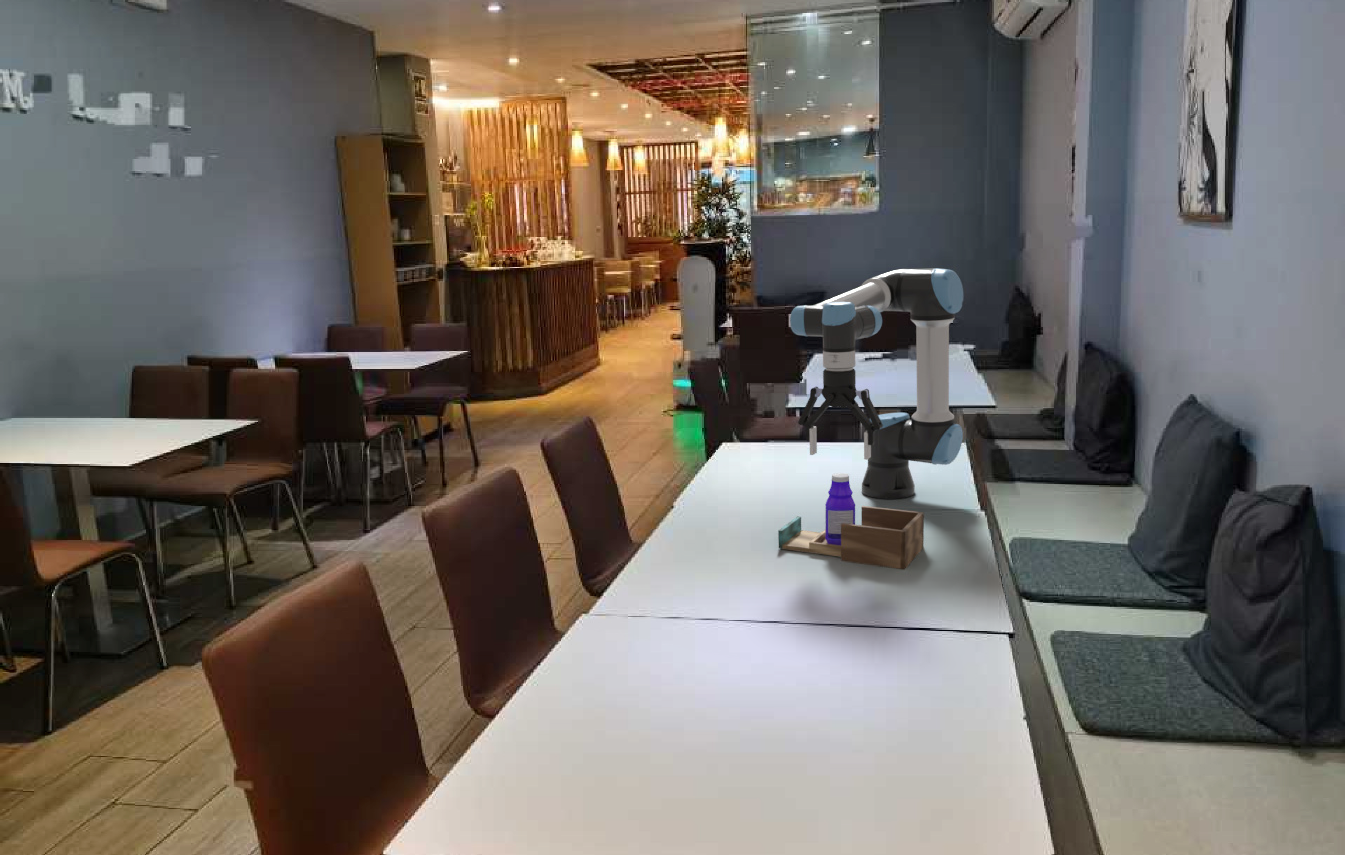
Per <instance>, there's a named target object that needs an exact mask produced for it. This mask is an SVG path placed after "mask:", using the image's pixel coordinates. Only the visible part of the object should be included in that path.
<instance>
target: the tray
mask: <svg viewBox="0 0 1345 855" xmlns="http://www.w3.org/2000/svg"><path fill="white" fill-rule="evenodd" d="M777 532H778V549H781V550H787V551H796V552H803V553H809V554H810V553H811V554H817V555H826V556H834V557H839V558H840V557H841V546H840V545H833V544H828V543H827V541H826V538H825V536H826V534H825V529H823V531H821V532H819V531H810V530H804V529H803V530H802V516H796V517H795V518H793V519H792V520H790V521H789V522H788V523H786V524H785V525H783V526H782V527H780V529H778V531H777Z"/></svg>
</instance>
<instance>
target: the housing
mask: <svg viewBox="0 0 1345 855" xmlns="http://www.w3.org/2000/svg"><path fill="white" fill-rule="evenodd" d="M924 515H925V514H924V512H922V511H913V510H905V509H904V510H903V509H896V508H887V507H886V508H885V507H877V506H868V505H867V506H866V505H862V506H861V524H855V525H854V524H846V523H842V524H841V558H840V561H841V562H848V563H853V564H854V563H855V564H861V565H863V564H864V565H869V566H877V567H885V568H892V569H897V570H899V569H900V570H906V569H907V568H908V566H909V565H910V564H911V563H912V561H914V559H915V558H916V557H918V555H919V554H920V553H921V551H922V550H923V549H924V541H925V540H924V538H925V537H924V536H925V535H924V533H925V532H924V531H925V530H924V529H925V528H924V527H925V526H924V522H925V519H924V518H925V516H924Z"/></svg>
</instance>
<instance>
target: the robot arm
mask: <svg viewBox="0 0 1345 855" xmlns="http://www.w3.org/2000/svg"><path fill="white" fill-rule="evenodd" d="M963 302H964V288H963V284H962V280H961V279H960V277H959V275H958V274H957V273H956V271H954V270H952V269H949V268H948V269H946V268H940V267H939V268H937V267H935V268H900V269H899V268H898V269H895V270H891V271H888V272H885V273H882V274H879V275H876V276H873V277H871V278H868V279H866V280H865V281H864V282H863V283H861V285H860V286H859V287H856V288H853V289H851V290H848V291H846V292H844V293H841V294H839V295H837V296H834V297H832V298H830V299H826V300H824V301H821V302H818V303H816V304H813V305H807V304H805V305H797V306H795V307H793V309H792V310H791V312H790V317H789V323H790V329H791V331H792V333H793V334H794V335H797V336H804V337H821V338H822V367H823V368H824V370H823V371H822V374H823V375H822V376H823V377H822V378H823V380H822V381H823V383H822V384H823V386H822V388H820V387H819V386H814V387H812V388H810V389H809V390H810V392H809V398H808V400H807V403H806V404H805V407H804V409H803V411H802V413H801V415H800V417H799V420H798V422H797V423H798V425H799V426H803V427H804V428H805V439H806V441H808V442H809V456H813V455H816V454H817V452H818V451H817V450H818V448H817V446H818V444H817V441H818V440H817V437H818V436H817V435H818V434H817V433H818V432H817V431H818V430H817V429H818V428H817V426H815V423H817V422H818V420H819V419H820V418H821V416H822V415H823V414H824V413H825V412H826V411H827V409H828V408H829V407H831V408H835V409H836V408H839V409H846V408H847V409H848V410H849V411H851V412H852V414H853V415H854V416H855V417H856V419H857V420H858V421H859V422H860V424H861V425H862V426H863V427H864V428H865V429H866V430H865V431H864V432H863V450H864V451H863V452H864V453H863V456H864V458H863V459H864V460H867V468H866V471H865V473H864V476H863V479H862V483H861V493H862V494H863V495H864V496H867V497H870V498H875V499H883V500H885V499H887V500H889V499H890V500H891V499H892V500H893V499H903V498H909V497H911V496H913V495H914V494H915V483H914V479H913V476H912V473H911V469H910V464H909V463H910V462H909V461H911V462H917V463H923V464H924V463H925V464H931V465H944V466H945V465H946V466H947V465H950V464H951V463H953V462H954V461H955V460H956V458H957V457H958V455H959V452H960V451H961V447H962V445H963V444H962V443H963V436H964V435H963V434H964V431H963V428H962V426H961V425H960V424H958V423H955V415H954V413H952V412H951V411H950V409H949V408H950V405H949V404H950V399H949V398H950V396H949V395H950V392H949V391H950V382H949V381H950V342H949V341H950V332H949V331H950V324H951V323H952V322H953V321H954V320H955V316H956V313H959V312H960V310H961V309H962V307H963ZM883 312H905V313H906V312H908V313H909V312H910V321H911V322H912V323H913V324H914V325H915V326H916V327H915V328H916V330H915V333H916V336H915V337H916V343H915V345H916V411H915V412H914V413H913V414H912V415H911V417H910V414H909V413H907V412H890V413H883V414H878V412H877V410H876V407H875V406H874V404H873V401H872V400H871V397H870V390H869V389H868V388H865V389H862V390H861V389H860V390H858V389H857V388H856V381H857V380H856V370H855V367H856V340H861V339H864V338H865V339H866V338H867V339H868V338H871V337H872V336H874V335H875V334H877V333H878V332H879V331H880V330H881V329H882V328H881V327H882V326H883V317H882V314H881V313H883ZM821 395H822V397H823V398H824V401H823V402H822V404H821V405H820V406H819V408H817V410H816V411H815V412H814V413H813V414H812V416H811V417H810V415H811V413H812V411H813V408H814V407H815V405H816V403H817V400H818V398H819V397H820V396H821ZM856 397H858V399H859V400H860V401H861V403H862V405H863V407H864V409H865V411H866V414H867V415H868V416H867V415H866V414H865V412H864V411H863V410H862V408H861V407H860V406H859V404H858V402H857V401H856V400H855V399H856ZM809 417H810V419H809ZM910 418H911V419H910ZM808 419H809V420H808Z"/></svg>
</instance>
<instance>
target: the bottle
mask: <svg viewBox="0 0 1345 855" xmlns="http://www.w3.org/2000/svg"><path fill="white" fill-rule="evenodd" d="M827 493H828V498H827V499H826V502H825V517H824V518H825V529H824V530H825V534H826V536H825V538H826V541H827V543H828V544H833V545H840V546H841V524H842V523H846V524H854V525H856V503H855V501H854V499H853V491H852V488H851V485H850V475H849V474H848V473H843V472H839V473H838V472H837V473H836V472H835V473H833V474H831V485H830V488H829V490H828V492H827Z"/></svg>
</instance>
